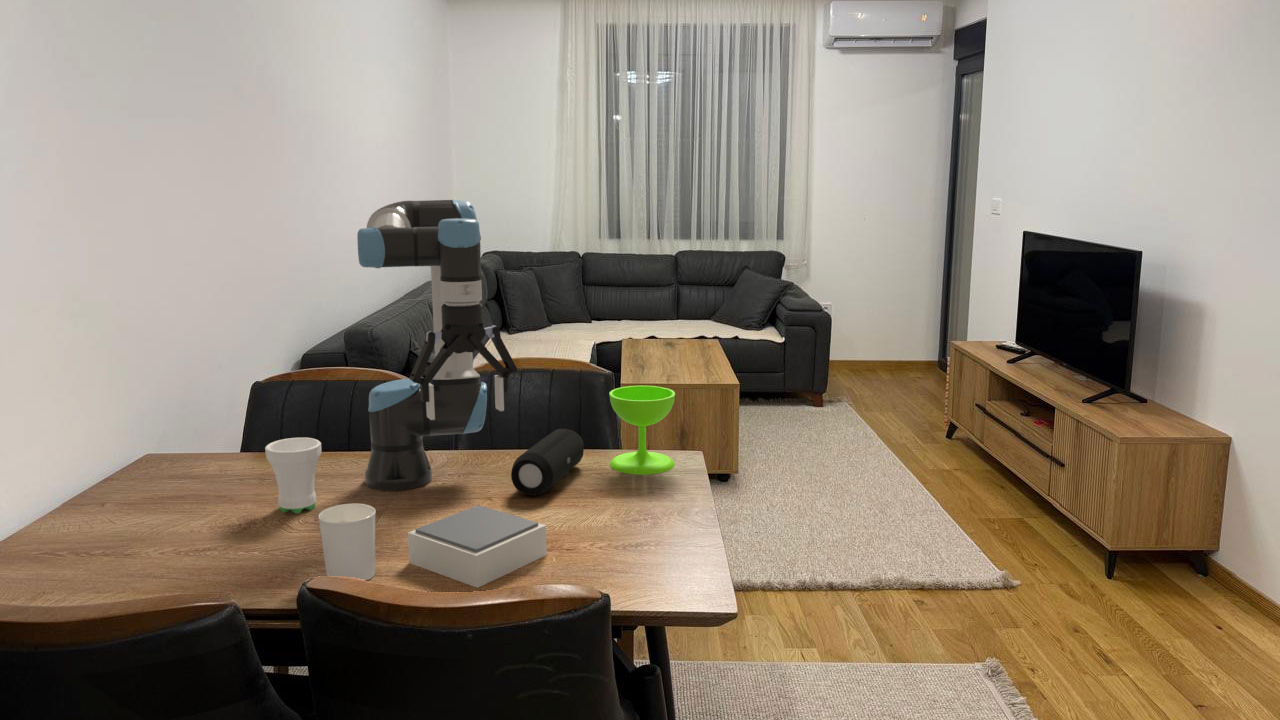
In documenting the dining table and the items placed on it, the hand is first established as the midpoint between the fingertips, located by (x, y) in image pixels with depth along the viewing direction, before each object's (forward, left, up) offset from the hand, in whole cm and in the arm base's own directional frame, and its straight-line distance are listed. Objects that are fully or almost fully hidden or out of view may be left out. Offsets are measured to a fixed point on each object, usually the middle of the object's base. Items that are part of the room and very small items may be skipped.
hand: (465, 414), depth 186 cm
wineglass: (-3, +61, -26) cm, 66 cm away
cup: (-44, -8, -26) cm, 52 cm away
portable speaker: (-13, +38, -27) cm, 48 cm away
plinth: (+7, -4, -26) cm, 27 cm away
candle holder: (-6, -23, -26) cm, 36 cm away
